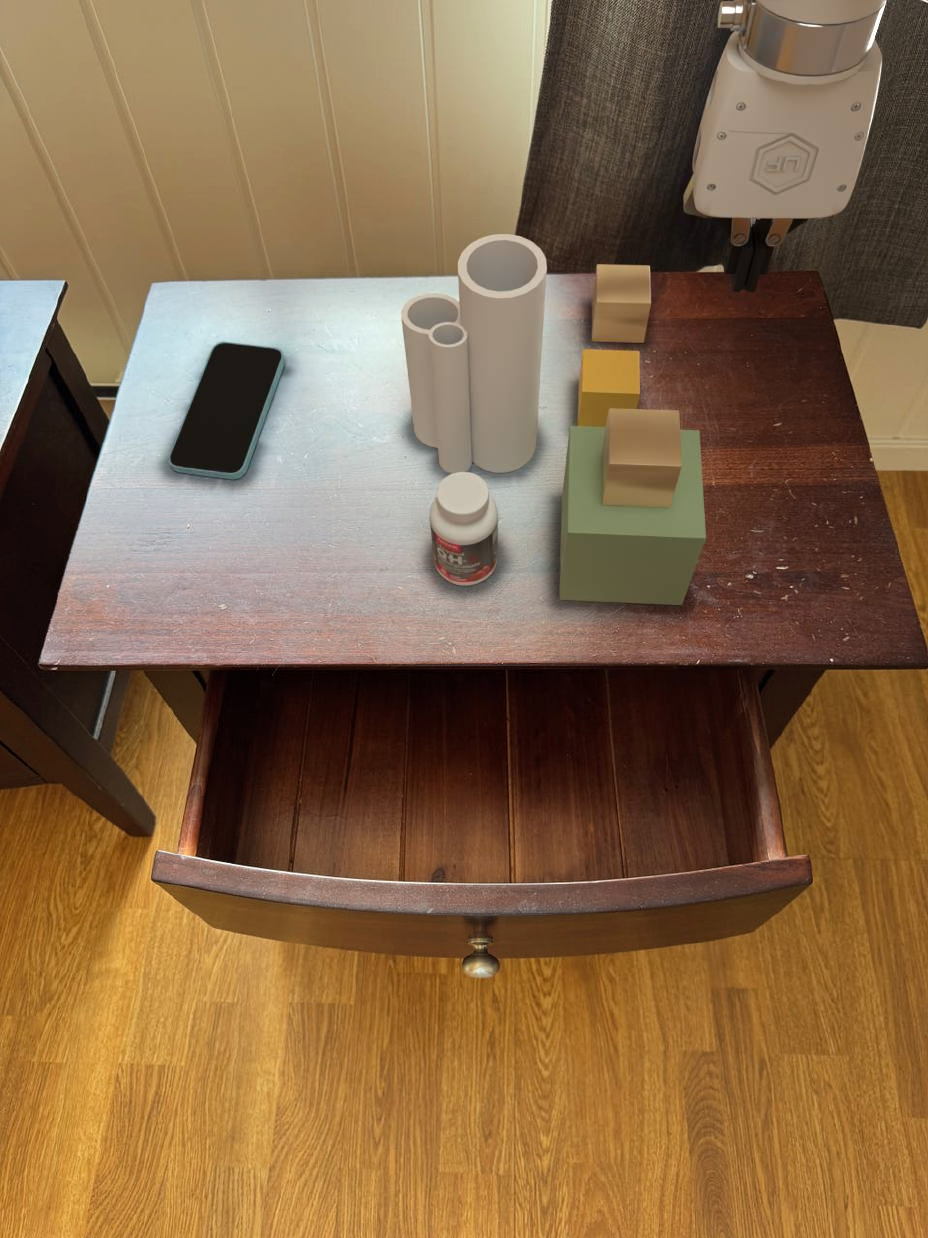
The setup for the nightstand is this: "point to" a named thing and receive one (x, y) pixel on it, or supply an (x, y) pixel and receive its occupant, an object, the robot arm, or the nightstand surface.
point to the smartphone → (227, 410)
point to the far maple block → (621, 303)
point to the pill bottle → (464, 529)
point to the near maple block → (641, 457)
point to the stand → (628, 530)
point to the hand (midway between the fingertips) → (741, 278)
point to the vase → (480, 357)
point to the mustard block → (607, 384)
